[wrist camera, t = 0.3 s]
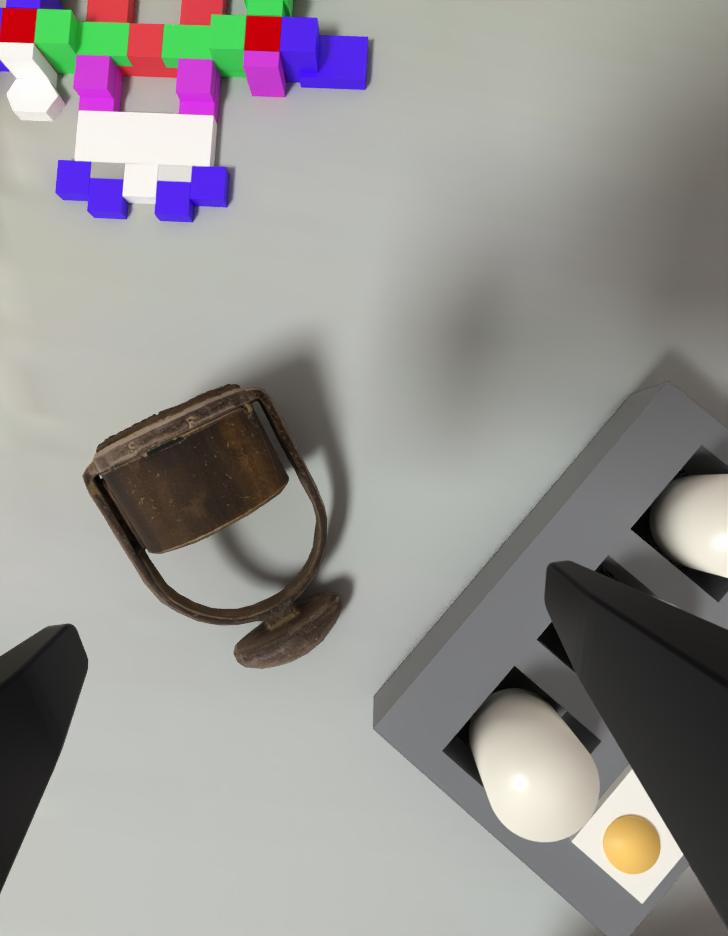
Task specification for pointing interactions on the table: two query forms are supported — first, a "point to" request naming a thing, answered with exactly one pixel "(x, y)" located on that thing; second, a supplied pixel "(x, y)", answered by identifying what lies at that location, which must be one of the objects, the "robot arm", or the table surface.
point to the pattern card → (629, 837)
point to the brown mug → (212, 508)
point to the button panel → (525, 618)
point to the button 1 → (532, 766)
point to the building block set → (160, 55)
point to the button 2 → (693, 522)
